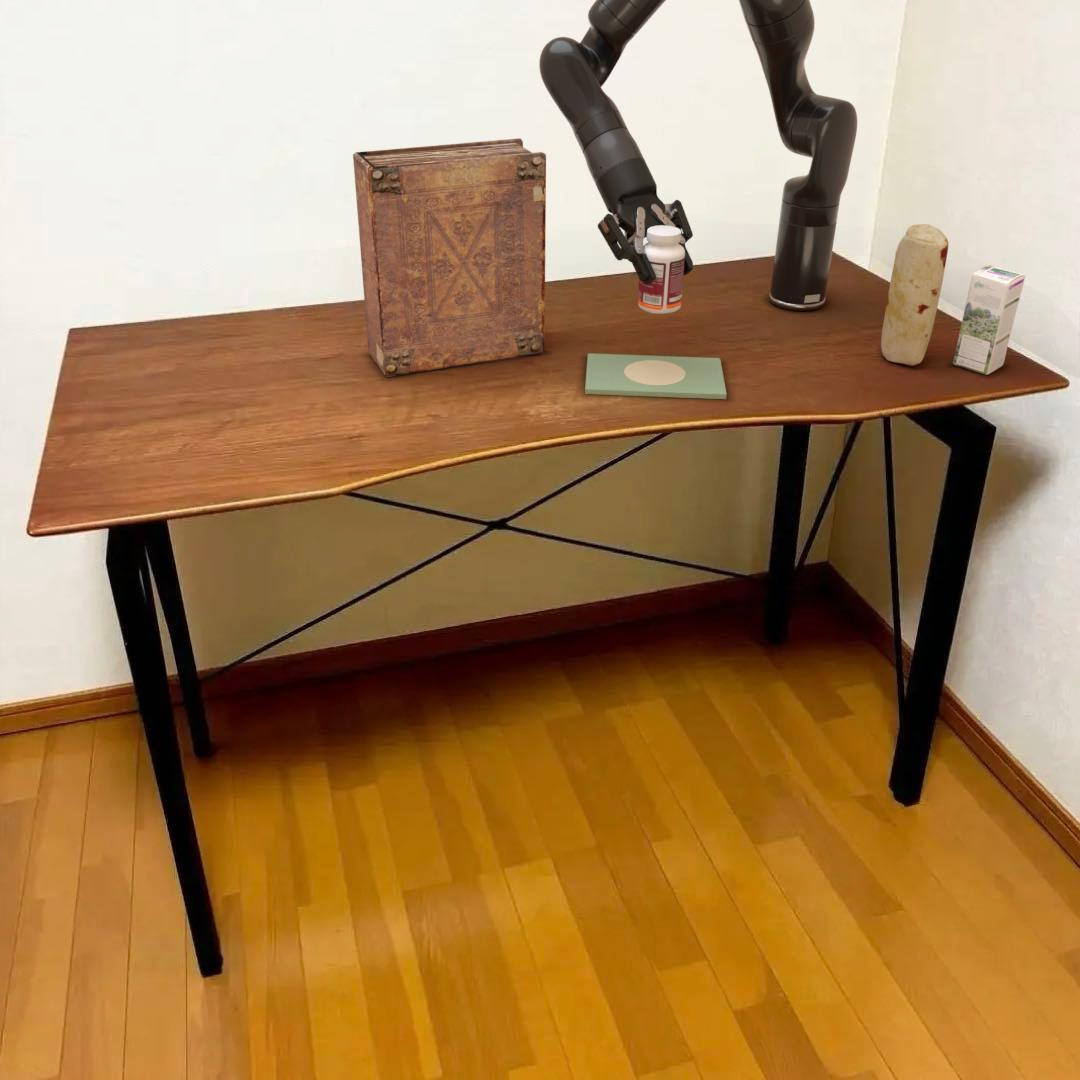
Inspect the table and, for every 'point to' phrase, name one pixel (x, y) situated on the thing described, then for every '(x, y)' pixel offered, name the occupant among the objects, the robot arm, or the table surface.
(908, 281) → the food model
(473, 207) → the book
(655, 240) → the pill bottle
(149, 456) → the table surface
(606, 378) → the mat
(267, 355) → the table surface
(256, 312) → the table surface
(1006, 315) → the syrup box
